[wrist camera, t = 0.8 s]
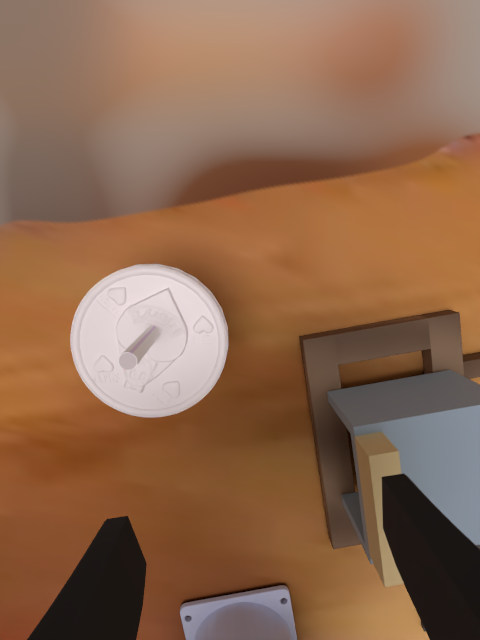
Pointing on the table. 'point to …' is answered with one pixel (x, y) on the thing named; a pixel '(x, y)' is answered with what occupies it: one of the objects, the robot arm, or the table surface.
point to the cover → (412, 452)
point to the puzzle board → (323, 375)
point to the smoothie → (149, 340)
